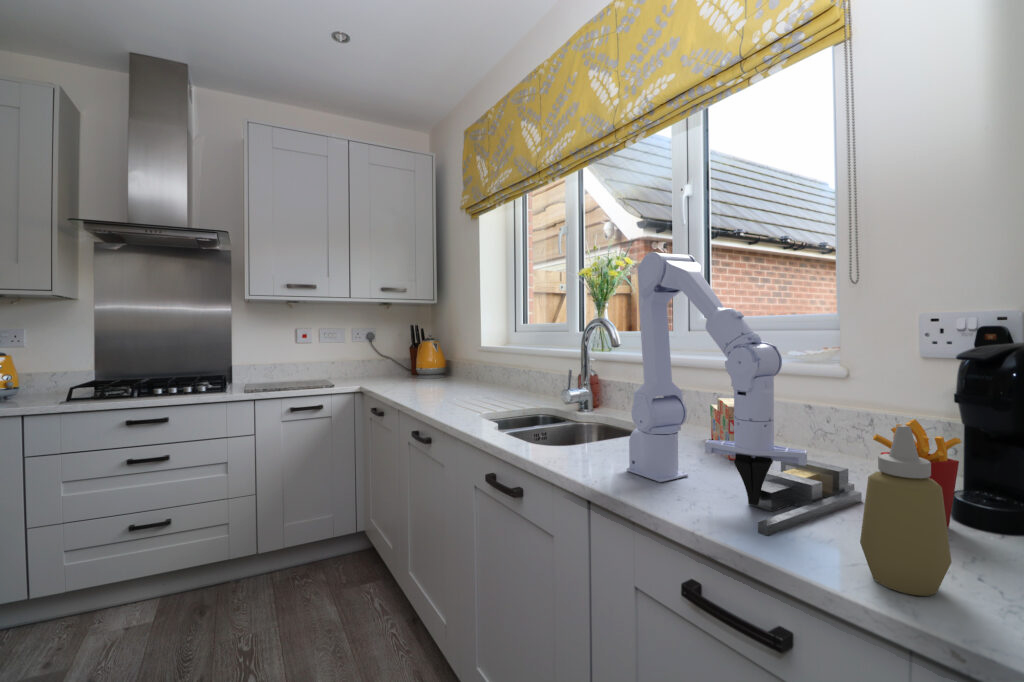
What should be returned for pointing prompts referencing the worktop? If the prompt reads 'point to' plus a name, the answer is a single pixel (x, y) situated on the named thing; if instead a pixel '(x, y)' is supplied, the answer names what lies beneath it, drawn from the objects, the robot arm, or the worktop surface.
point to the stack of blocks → (723, 421)
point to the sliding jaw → (788, 491)
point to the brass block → (804, 473)
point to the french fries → (933, 461)
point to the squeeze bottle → (905, 521)
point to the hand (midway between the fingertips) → (754, 503)
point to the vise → (836, 498)
